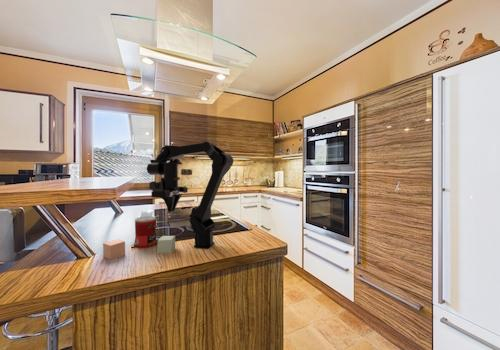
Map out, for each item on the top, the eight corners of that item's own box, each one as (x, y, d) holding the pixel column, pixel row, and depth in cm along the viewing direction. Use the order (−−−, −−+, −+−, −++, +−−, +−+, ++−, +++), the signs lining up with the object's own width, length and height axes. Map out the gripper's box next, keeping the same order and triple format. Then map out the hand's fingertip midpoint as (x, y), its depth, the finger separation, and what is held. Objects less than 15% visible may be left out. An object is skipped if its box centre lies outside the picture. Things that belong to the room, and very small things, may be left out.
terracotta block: (125, 254, 80) (124, 241, 79) (110, 259, 75) (110, 245, 75) (117, 252, 82) (117, 239, 82) (103, 256, 78) (103, 243, 78)
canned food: (151, 248, 86) (150, 220, 85) (131, 248, 86) (130, 220, 86) (159, 241, 94) (159, 216, 93) (141, 241, 94) (141, 216, 93)
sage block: (175, 248, 86) (175, 235, 86) (171, 253, 81) (171, 240, 81) (162, 248, 86) (162, 236, 86) (157, 253, 81) (157, 240, 81)
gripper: (166, 174, 104) (167, 206, 104) (139, 175, 85) (139, 215, 86) (187, 174, 101) (188, 207, 102) (164, 176, 83) (165, 216, 84)
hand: (171, 211), depth 94 cm, fingers closed
